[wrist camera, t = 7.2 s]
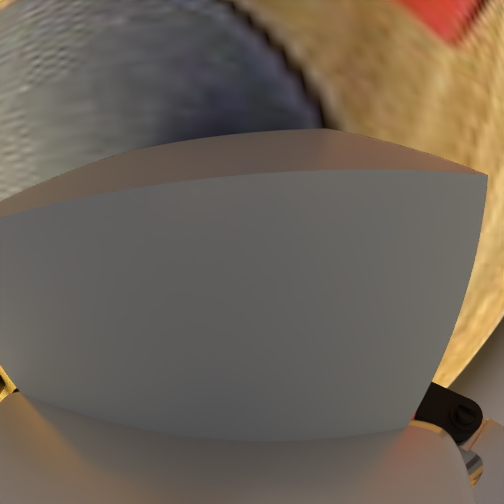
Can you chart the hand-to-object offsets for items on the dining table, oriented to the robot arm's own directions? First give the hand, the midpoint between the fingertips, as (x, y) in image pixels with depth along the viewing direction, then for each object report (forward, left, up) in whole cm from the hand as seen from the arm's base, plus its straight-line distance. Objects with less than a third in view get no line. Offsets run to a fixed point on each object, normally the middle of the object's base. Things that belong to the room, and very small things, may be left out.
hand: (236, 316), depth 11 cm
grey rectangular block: (0, 0, -2) cm, 2 cm away
